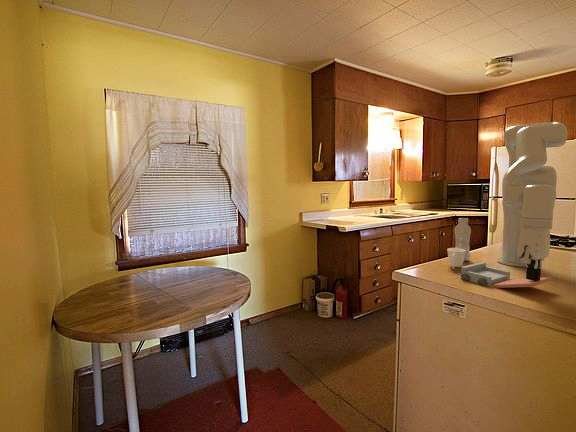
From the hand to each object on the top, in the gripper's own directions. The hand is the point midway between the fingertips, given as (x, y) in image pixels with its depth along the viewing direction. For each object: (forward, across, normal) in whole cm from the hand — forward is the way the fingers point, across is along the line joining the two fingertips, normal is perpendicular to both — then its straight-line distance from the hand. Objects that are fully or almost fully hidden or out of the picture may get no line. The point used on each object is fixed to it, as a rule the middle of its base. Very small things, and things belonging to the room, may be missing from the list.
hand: (532, 279), depth 96 cm
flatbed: (+4, -1, -15) cm, 16 cm away
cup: (+4, -6, -30) cm, 31 cm away
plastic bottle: (+4, -20, -36) cm, 41 cm away
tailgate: (+2, -1, -3) cm, 4 cm away
